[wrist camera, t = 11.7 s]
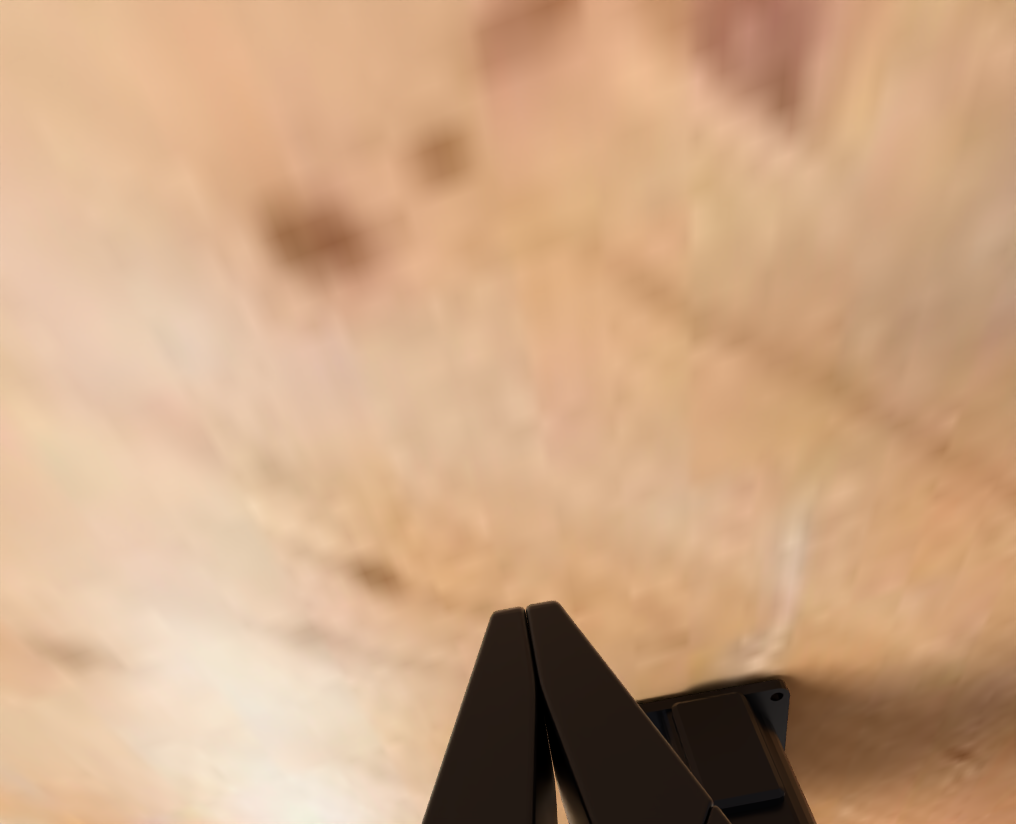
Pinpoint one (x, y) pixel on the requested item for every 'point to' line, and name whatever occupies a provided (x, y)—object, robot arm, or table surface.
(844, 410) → the table surface
